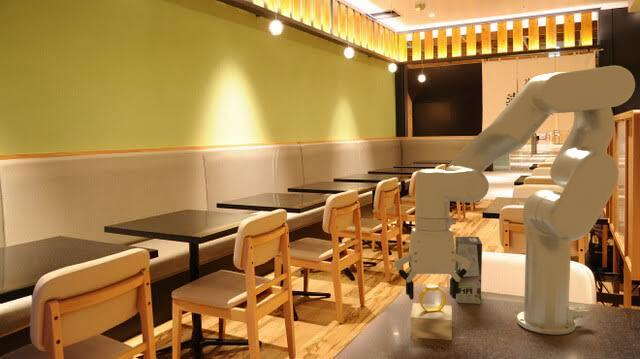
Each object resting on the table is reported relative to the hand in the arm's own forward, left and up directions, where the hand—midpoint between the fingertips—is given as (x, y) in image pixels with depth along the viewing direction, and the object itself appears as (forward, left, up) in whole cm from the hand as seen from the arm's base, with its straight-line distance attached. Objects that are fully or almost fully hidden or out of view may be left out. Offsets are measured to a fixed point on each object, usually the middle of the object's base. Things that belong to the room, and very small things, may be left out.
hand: (431, 297), depth 119 cm
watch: (0, 0, -3) cm, 3 cm away
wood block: (0, 0, -8) cm, 8 cm away
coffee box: (-14, -21, -8) cm, 26 cm away
